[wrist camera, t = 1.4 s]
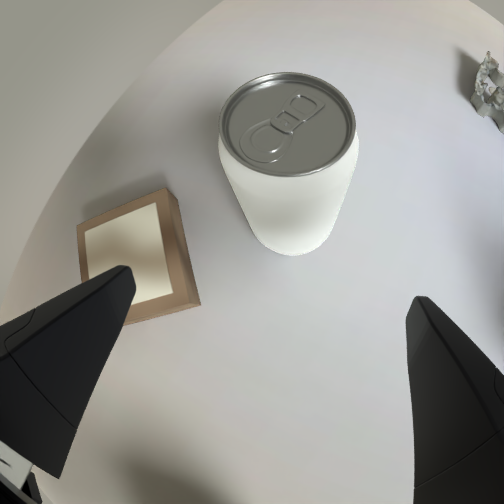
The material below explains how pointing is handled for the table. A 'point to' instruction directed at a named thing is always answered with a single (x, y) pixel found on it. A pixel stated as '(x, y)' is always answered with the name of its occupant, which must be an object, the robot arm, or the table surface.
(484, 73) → the egg carton
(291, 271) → the table surface
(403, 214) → the table surface
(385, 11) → the table surface
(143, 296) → the block
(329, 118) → the can
